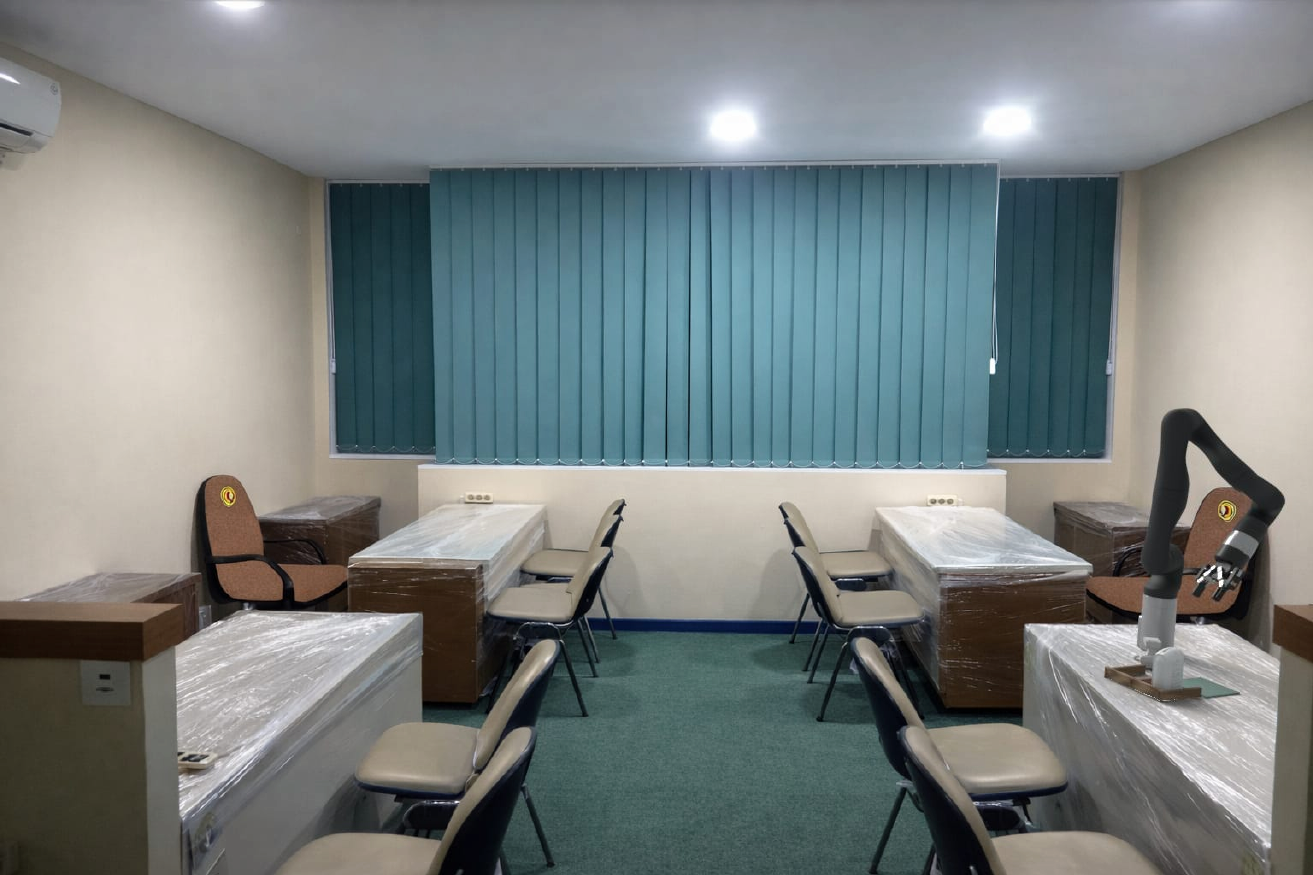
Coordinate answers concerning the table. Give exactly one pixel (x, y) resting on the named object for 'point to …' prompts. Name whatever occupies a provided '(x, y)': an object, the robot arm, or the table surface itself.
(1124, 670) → the lane rack
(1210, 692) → the mat
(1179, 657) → the photo printer
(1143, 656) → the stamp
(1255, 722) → the table surface
